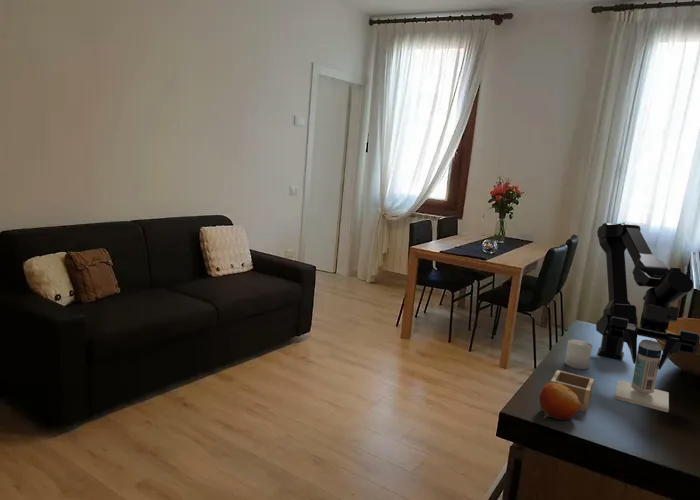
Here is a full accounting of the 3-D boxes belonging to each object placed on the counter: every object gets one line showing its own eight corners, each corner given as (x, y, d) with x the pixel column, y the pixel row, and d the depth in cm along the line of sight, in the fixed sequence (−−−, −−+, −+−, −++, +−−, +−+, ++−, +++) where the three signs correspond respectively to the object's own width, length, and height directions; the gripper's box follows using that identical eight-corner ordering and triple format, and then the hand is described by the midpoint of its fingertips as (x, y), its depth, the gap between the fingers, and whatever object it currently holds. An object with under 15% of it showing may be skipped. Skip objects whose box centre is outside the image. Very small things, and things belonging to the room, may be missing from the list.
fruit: (524, 398, 118) (548, 370, 117) (553, 418, 119) (576, 391, 118) (536, 416, 110) (561, 386, 109) (566, 437, 111) (591, 408, 110)
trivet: (617, 383, 135) (618, 380, 135) (668, 395, 130) (668, 392, 130) (613, 398, 126) (614, 395, 125) (668, 412, 120) (668, 409, 120)
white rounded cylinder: (566, 358, 150) (569, 338, 149) (590, 364, 147) (593, 343, 146) (563, 365, 145) (566, 343, 144) (587, 370, 142) (590, 349, 141)
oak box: (554, 389, 128) (557, 369, 127) (590, 399, 124) (594, 379, 123) (547, 401, 121) (551, 380, 120) (586, 412, 117) (589, 390, 116)
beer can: (655, 391, 128) (665, 343, 126) (650, 397, 124) (659, 347, 122) (634, 384, 131) (642, 337, 129) (628, 389, 127) (636, 341, 125)
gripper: (616, 284, 131) (604, 339, 124) (707, 299, 122) (700, 360, 115) (613, 308, 139) (602, 361, 132) (698, 324, 130) (691, 382, 123)
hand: (646, 365), depth 125 cm, fingers closed on beer can, 5 cm apart
